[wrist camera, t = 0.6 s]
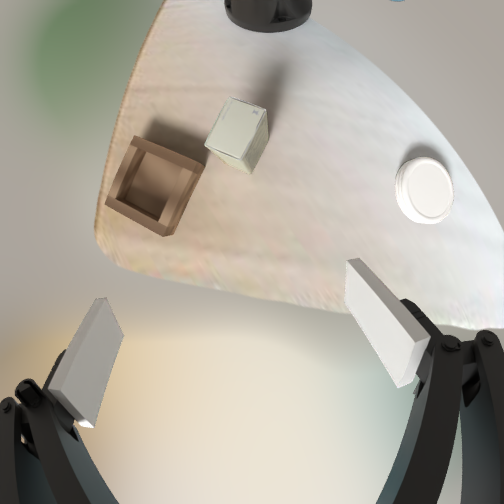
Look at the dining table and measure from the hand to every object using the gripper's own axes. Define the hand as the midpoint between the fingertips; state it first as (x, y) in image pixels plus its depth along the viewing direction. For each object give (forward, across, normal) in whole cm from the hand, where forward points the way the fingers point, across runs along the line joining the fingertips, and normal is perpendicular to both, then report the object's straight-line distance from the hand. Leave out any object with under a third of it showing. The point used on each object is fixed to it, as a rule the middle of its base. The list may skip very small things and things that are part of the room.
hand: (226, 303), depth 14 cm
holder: (+29, -10, +2) cm, 31 cm away
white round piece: (+22, +30, -2) cm, 37 cm away
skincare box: (+28, +4, +5) cm, 29 cm away
